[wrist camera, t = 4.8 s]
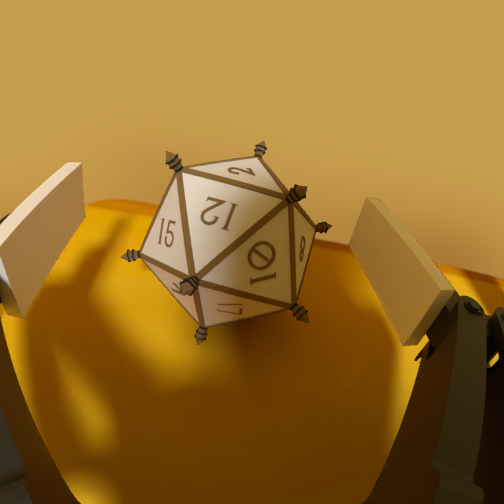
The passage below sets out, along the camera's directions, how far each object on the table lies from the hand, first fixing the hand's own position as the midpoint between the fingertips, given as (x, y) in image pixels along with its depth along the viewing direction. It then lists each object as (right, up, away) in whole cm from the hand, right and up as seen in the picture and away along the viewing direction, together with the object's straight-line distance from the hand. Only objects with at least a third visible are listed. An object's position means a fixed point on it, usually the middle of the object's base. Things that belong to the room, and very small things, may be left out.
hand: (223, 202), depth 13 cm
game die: (-1, -5, +3) cm, 6 cm away
